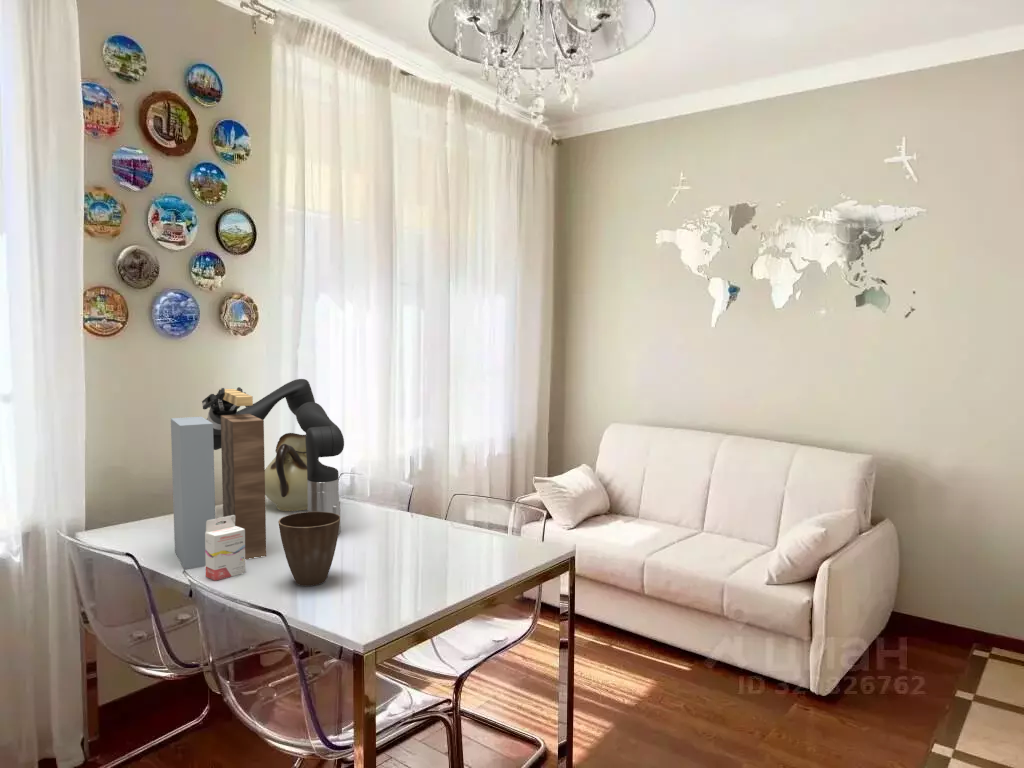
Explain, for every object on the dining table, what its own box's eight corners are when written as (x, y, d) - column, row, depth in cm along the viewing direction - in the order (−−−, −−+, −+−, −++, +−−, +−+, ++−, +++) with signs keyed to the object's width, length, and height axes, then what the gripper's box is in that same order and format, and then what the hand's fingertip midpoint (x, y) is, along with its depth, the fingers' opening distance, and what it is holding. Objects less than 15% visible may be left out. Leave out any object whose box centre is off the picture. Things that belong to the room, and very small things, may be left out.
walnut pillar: (223, 545, 212) (220, 415, 209) (252, 541, 216) (249, 413, 213) (236, 561, 199) (233, 422, 195) (266, 556, 203) (263, 420, 200)
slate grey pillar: (174, 552, 205) (170, 418, 202) (205, 548, 209) (201, 416, 206) (184, 569, 192) (180, 425, 188) (216, 564, 196) (212, 423, 193)
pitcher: (312, 496, 272) (311, 429, 269) (341, 509, 253) (339, 438, 251) (252, 505, 258) (250, 435, 255) (277, 520, 240) (275, 445, 237)
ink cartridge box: (215, 581, 183) (213, 524, 182) (205, 577, 186) (203, 520, 185) (246, 572, 190) (245, 517, 188) (236, 568, 193) (235, 513, 192)
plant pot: (268, 580, 184) (267, 518, 183) (321, 566, 195) (320, 507, 193) (298, 596, 174) (297, 531, 172) (352, 581, 184) (351, 519, 183)
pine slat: (219, 397, 219) (219, 389, 219) (233, 396, 221) (233, 388, 221) (237, 406, 199) (237, 397, 198) (252, 405, 201) (252, 396, 201)
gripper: (195, 404, 224) (204, 379, 211) (244, 401, 232) (255, 378, 219) (198, 426, 222) (207, 403, 208) (247, 423, 229) (258, 400, 216)
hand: (231, 390), depth 213 cm, fingers closed on pine slat, 4 cm apart
